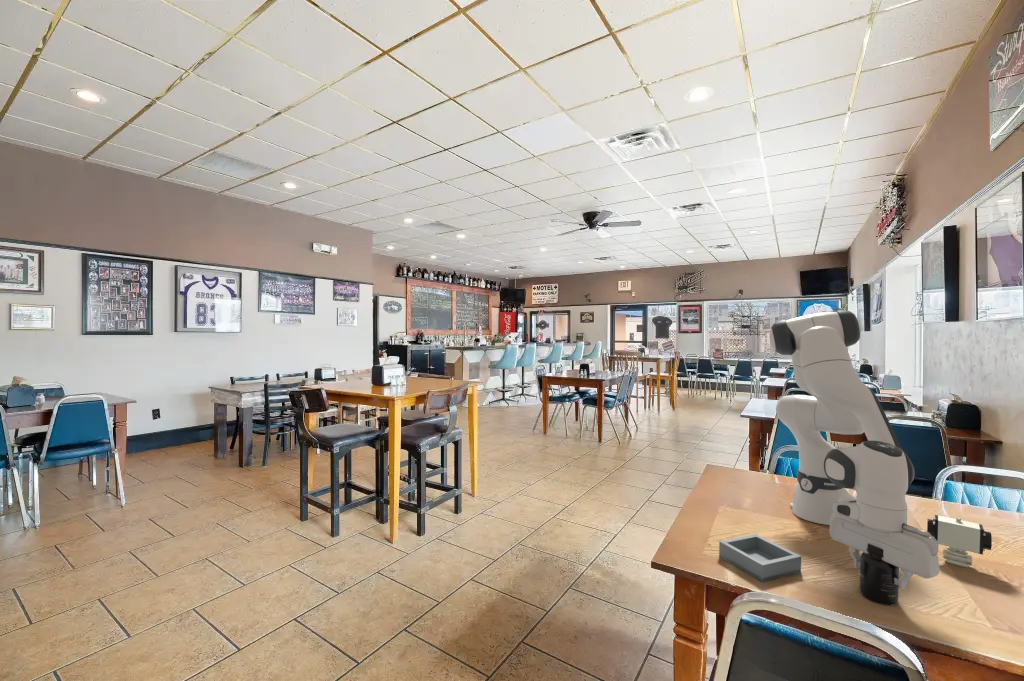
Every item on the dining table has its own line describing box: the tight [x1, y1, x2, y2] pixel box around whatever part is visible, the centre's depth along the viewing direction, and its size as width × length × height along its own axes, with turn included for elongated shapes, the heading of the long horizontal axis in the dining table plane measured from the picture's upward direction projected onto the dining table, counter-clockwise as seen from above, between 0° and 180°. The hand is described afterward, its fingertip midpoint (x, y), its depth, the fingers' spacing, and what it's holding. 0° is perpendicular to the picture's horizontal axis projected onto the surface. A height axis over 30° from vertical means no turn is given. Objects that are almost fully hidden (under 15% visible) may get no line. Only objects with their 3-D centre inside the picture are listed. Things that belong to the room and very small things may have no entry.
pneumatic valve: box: [926, 514, 993, 568], centre depth 117 cm, size 6×12×12 cm, turn 47°
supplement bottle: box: [859, 543, 900, 606], centre depth 101 cm, size 7×7×12 cm
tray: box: [718, 533, 802, 583], centre depth 115 cm, size 13×13×4 cm
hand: (879, 577), depth 101 cm, fingers closed on supplement bottle, 7 cm apart
